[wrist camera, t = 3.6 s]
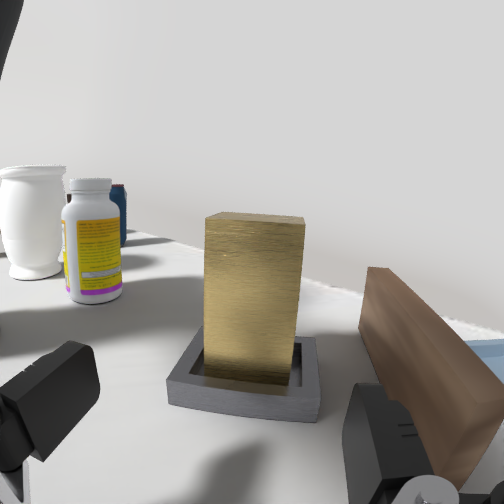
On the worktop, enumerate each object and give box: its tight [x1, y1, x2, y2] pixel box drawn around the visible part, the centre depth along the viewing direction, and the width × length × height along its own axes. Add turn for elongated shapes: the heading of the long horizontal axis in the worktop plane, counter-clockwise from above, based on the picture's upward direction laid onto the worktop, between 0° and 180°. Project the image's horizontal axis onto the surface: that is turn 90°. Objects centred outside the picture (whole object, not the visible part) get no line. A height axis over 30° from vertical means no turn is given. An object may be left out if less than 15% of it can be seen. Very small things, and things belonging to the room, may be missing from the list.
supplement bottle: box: [61, 178, 122, 304], centre depth 32 cm, size 7×7×13 cm
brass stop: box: [204, 212, 305, 386], centre depth 19 cm, size 5×4×10 cm
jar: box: [0, 165, 66, 280], centre depth 37 cm, size 11×10×15 cm
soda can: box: [109, 184, 127, 247], centre depth 59 cm, size 7×7×12 cm
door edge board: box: [358, 267, 504, 491], centre depth 18 cm, size 2×20×6 cm, turn 173°
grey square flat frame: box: [166, 327, 321, 423], centre depth 20 cm, size 8×8×2 cm
